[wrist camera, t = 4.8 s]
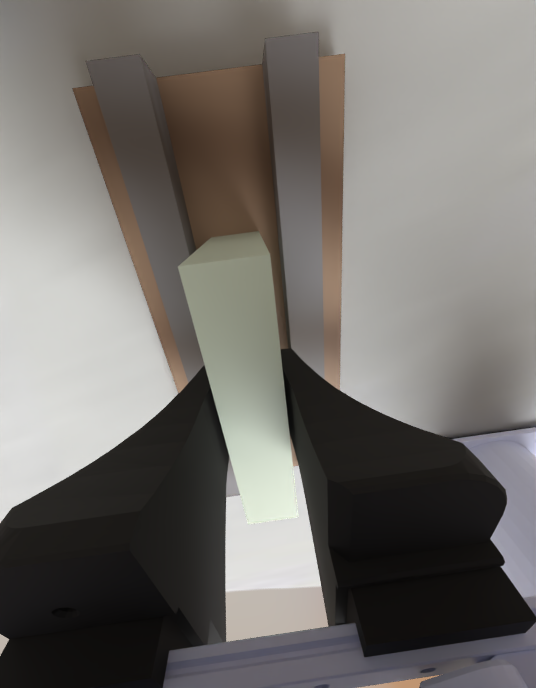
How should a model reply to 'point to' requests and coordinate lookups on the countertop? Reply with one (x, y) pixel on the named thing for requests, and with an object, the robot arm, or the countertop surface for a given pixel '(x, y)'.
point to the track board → (229, 185)
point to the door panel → (244, 367)
